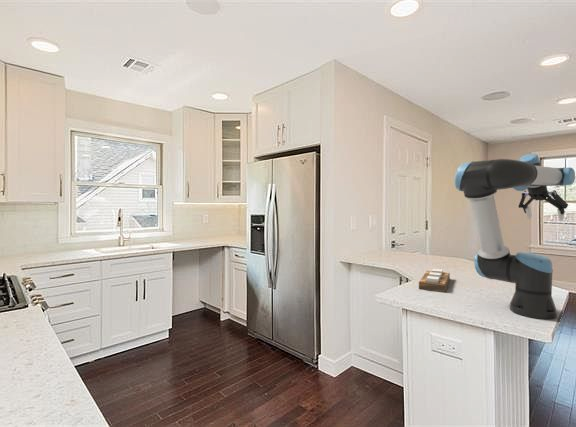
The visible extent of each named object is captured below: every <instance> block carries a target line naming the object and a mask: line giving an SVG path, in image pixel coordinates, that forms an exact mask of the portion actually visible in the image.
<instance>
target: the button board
mask: <svg viewBox="0 0 576 427" xmlns="http://www.w3.org/2000/svg"><path fill="white" fill-rule="evenodd" d="M431 271H432V270H426V272H425V273H424V274H423V276H422V277H421V279H420V280H419V281H418V290H424V291H432V292H438V293H439V292H441V293H446V291H447V287H448V285H449V282H450V278H451V276H450V274H451V273H450V272H444V271H443V275H441V279H439V283H430V282H427V277H428V276H429V274H430V272H431Z"/></svg>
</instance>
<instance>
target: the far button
mask: <svg viewBox="0 0 576 427" xmlns="http://www.w3.org/2000/svg"><path fill="white" fill-rule="evenodd" d="M430 271H431V272H434V273H441V275H443V272H444V269H442V268H441V269H439V268H438V269H437V268H432V269H431V270H430Z"/></svg>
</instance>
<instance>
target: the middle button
mask: <svg viewBox="0 0 576 427" xmlns="http://www.w3.org/2000/svg"><path fill="white" fill-rule="evenodd" d="M429 276H434V277H439V279H441V273H434V272H430V274H429Z"/></svg>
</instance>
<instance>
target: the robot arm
mask: <svg viewBox="0 0 576 427" xmlns="http://www.w3.org/2000/svg"><path fill="white" fill-rule="evenodd" d="M575 179H576V172H575V170H574V168H573V167H565V166H564V167H550V166H543V165H542V164H541V160H540V158H539V155H537V154H535V153H530V154H529V153H527V154H525V155H522V156H521V157H520V158H519V159H509V158H498V159H489V160H487V159H486V160H479V161H473V160H472V161H470V162H463V163H462V164H461V165H459V166H458V167H457V169H456V172H455V175H454V185H455V187H456V189H457V190H458V191H460V192H463V195H464V198H466V199H468V200H469V202H470V203H469V204H470V207H471V211H472V216H473V221H474V225H475V229H476V234H477V238H478V242H479V246H480V248H479V249H478V250H477V252H476V254H475V256H474V262H473V264H474V268H475V270H476V273H477V274H478V275H479V276H480V277H482V278H487V279H489V280H496V281H500V282H505V283H511V284H515V289H514V291H515V292H514V293H513V296H512V298H511V301H510V303H509V310H510V311H511V312H513V313H515V314H517V315H521V316H524V317H528V318H533V319H541V320H542V319H543V320H551V319H556V318H557V317H558V310H557V308H556V307H557V306H556V304H555V301H554V299H553V295H552V292H553V291H552V290H553V289H552V288H553V273H554V270H553V262H552V259H550V258H549V257H547V256H543V255H541V254H536V253H531V252H522V251H521V252H516V254H511V252H510V249H509V247H508V246H506V245H504V244H505V243H504V240H503V234H502V229H501V226H500V220H499V217H498V216H499V215H498V210H497V206H496V200H495V196H494V195H495V194H496V193H497V192H498V191H500V190H508V189H513V190H515V191H518V192H521V199H520V201H519V204H518V208H521V209H523V212H524V214H526V216H527V219H528V220H530V219H532V212H531V208H530V206H529V205H530V204H531V203H532V202H533V201H534V200H535V201H545V202H546V203H547V202H548V203H549V204H551V205H552V206H553V207H555V208H556V209H557V214H558V217H559V218H558V219H559V221H560V222H561V221H563V220H564V218H565V215H564V214H565V212H566V211H565V210H566V209H567V208H568V206H569V204H568V203H567V202H566V201H565V199H563V198H562V197H561V196H560V195H559V194H558V192H557V190H552V191H549V190H548V187H553V186H555V187H556V186H557V187H558V186H563V187H564V186H571V185H573V184H574V182H575ZM527 196H529V197H530V198H529V199H528V200H527V201H526V200H525V199H526V198H527ZM525 201H526V202H525ZM524 202H525V203H524Z"/></svg>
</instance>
